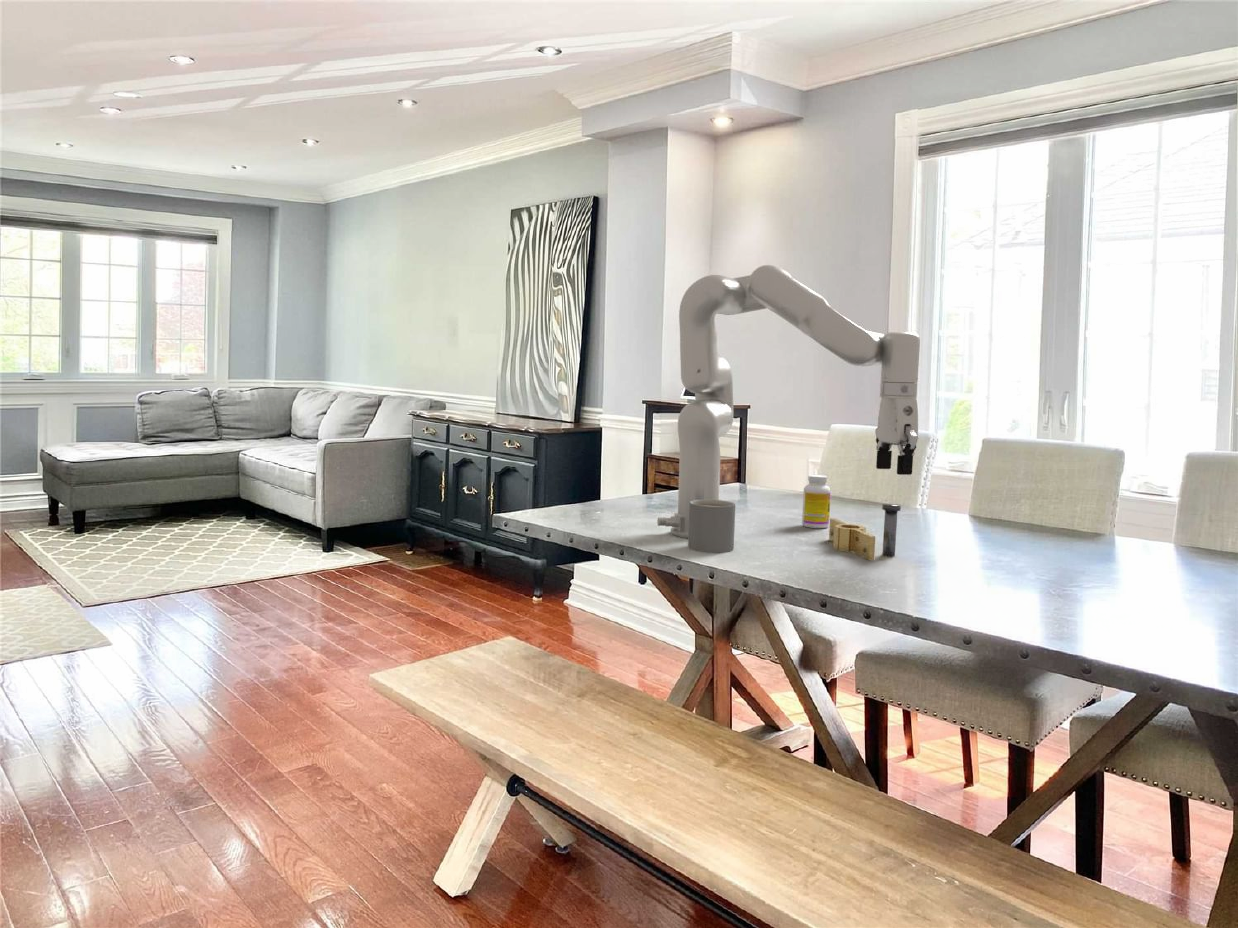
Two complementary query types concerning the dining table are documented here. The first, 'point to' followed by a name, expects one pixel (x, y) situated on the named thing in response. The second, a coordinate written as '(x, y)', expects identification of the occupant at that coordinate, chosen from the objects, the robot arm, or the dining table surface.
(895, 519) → the hinge pin
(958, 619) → the dining table surface
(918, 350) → the robot arm
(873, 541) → the hinge base
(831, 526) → the wooden hinge leaf
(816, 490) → the supplement bottle
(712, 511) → the coffee mug
